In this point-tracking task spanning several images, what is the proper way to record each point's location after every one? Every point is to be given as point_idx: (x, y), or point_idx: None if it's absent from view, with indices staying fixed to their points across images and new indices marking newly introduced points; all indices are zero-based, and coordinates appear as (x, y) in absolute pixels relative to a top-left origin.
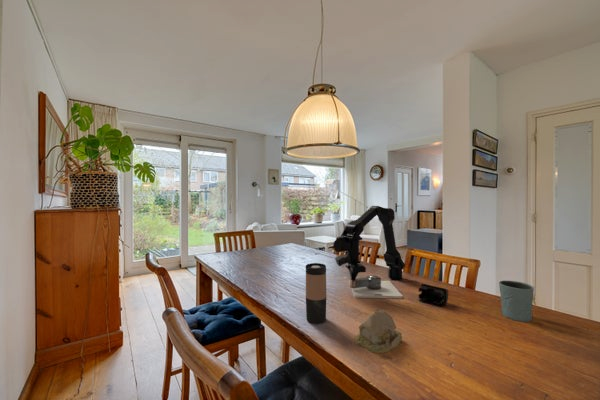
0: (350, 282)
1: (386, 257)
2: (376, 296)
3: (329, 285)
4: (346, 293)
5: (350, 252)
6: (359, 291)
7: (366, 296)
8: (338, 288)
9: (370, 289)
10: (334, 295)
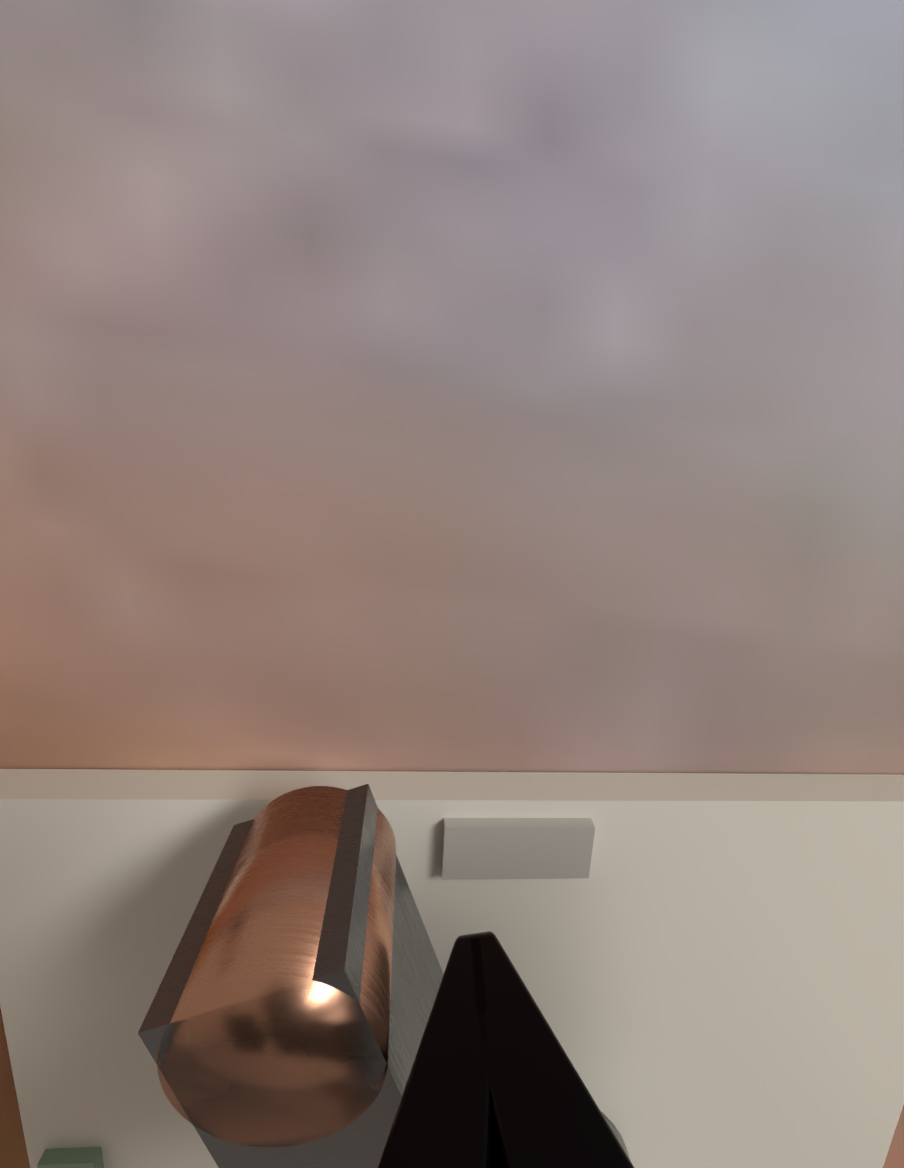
0: (269, 900)
1: None
2: (36, 1148)
3: (842, 252)
4: (247, 625)
5: None
6: None
7: (14, 995)
8: (588, 478)
9: None
10: (69, 293)
